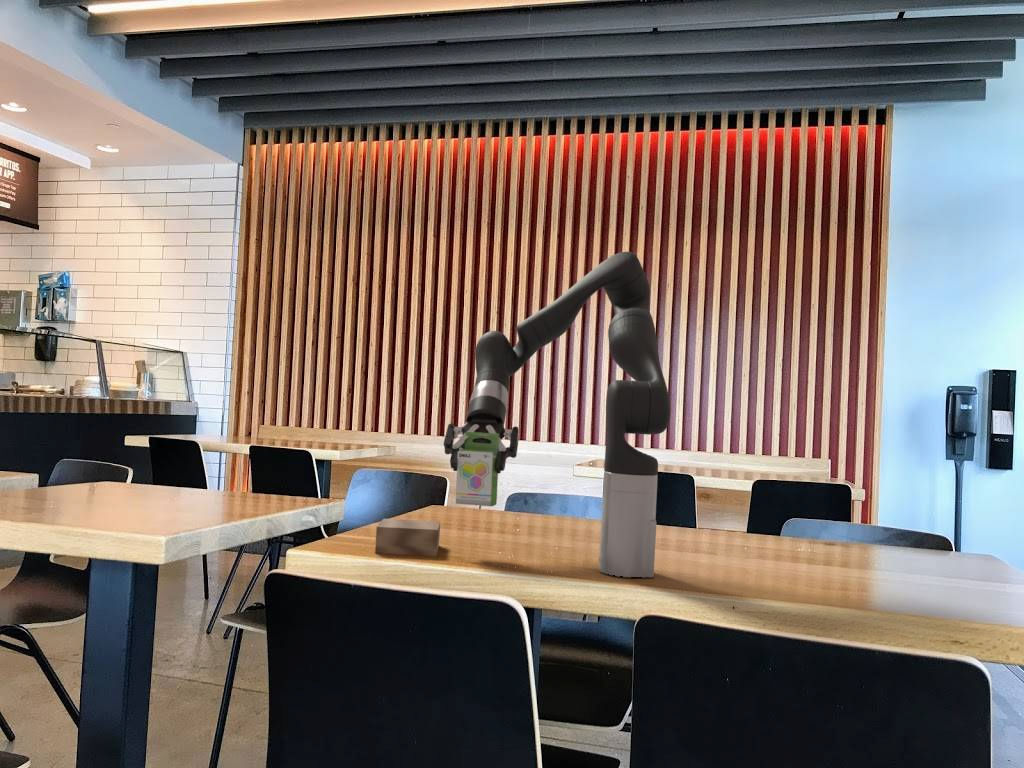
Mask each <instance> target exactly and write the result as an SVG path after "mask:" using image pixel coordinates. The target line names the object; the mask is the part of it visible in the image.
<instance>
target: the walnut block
mask: <svg viewBox="0 0 1024 768" xmlns="http://www.w3.org/2000/svg"><path fill="white" fill-rule="evenodd" d="M375 532H376V533H375V548H374V554H383V553H388V554H387V555H404V554H407V555H406V556H428V557H429V556H430V557H431V556H432V557H437V556H438V551H439V548H440V534H441V533H440V532H441V521H440V520H439V521H437V520H422V519H421V520H418V519H417V520H416V519H415V520H413V519H396V518H383V519H382V520H381V521H380V522H379V523H378V525H376V531H375Z"/></svg>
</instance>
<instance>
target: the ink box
mask: <svg viewBox="0 0 1024 768" xmlns="http://www.w3.org/2000/svg"><path fill="white" fill-rule="evenodd" d="M465 435H466V436H469V438H468V440H467V442H466V444H465V450H463V451H458V455H457V471H456V486H455V489H456V490H455V504H457V505H466V506H467V505H469V506H479V507H480V506H482V507H494V506H496V505H497V501H498V481H499V480H498V479H499V477H498V476H499V473H496V463H497V457H498V446H499V434H494V433H479V432H466V434H465ZM481 437H483V438H486V439H489V440H491V443H490V444H486V443H474V442H473V441H472V440H473V439H475V438H481Z"/></svg>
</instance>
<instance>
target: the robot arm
mask: <svg viewBox="0 0 1024 768" xmlns="http://www.w3.org/2000/svg"><path fill="white" fill-rule="evenodd" d="M602 288H603V289H604V291H605V294H606V296H607V298H608V300H609V302H610V304H611V305H612V308H613V311H614V314H615V315H614V316H613V317H612V319H611V320H610V322H609V325H608V331H607V337H608V348H609V353H610V355H611V358H612V359H613V361H614V362H615V363H616V365H617V366H618V367H619V368H620V369H622V371H623V372H625V373H626V374H627V375H629V376H630V378H632V379H633V380H629V379H628V380H625V379H615V380H613V381H611V382H610V384H609V386H608V388H607V392H606V398H605V400H606V402H605V451H604V452H605V454H604V465H603V467H604V468H603V469H604V470H603V484H602V485H603V487H602V488H603V489H602V504H601V505H602V506H601V521H600V522H601V524H600V525H601V526H600V542H599V543H600V544H599V557H598V571H599V572H601V573H602V574H605V575H608V574H609V576H613V575H615V576H614V577H620V576H623V577H622V578H631V577H642V578H652V577H653V578H654V577H655V575H654V574H655V559H656V558H655V557H656V541H657V540H656V537H657V520H656V517H657V516H656V514H657V498H658V497H657V496H658V495H657V493H658V474H659V462H658V459H657V458H655V457H654V456H652V455H650V454H647V453H644V452H642V451H640V450H638V449H637V448H635V447H633V446H632V445H631V444H629V443H628V441H627V440H626V437H625V434H629V435H630V434H634V435H660V434H662V433H664V432H665V431H666V429H668V426H669V425H670V419H671V401H670V395H669V390H668V386H667V384H666V380H665V376H664V374H663V370H662V367H661V362H660V355H659V346H658V339H657V331H656V327H655V324H654V319H653V316H652V314H651V307H650V305H651V287H650V282H649V280H648V278H647V275H646V273H645V271H644V268H643V265H642V263H641V262H640V260H639V257H638V256H637V255H636V253H634V252H632V251H622V252H621V251H620V252H618V253H616V254H613V255H611V256H610V257H608V258H606V259H605V260H603V261H602V262H600V263H599V264H598V265H597V266H595V267H594V268H593V269H591V270H590V271H589V272H588V273H587V274H585V275H584V276H582V278H581V279H579V280H578V281H577V282H576V283H574V284H573V285H572V286H571V287H570V288H569V289H568V290H566V291H565V292H564V293H563V294H562V295H561V296H558V298H557V299H554V301H552V302H551V303H550V304H548V305H546V306H545V307H543V308H542V309H540V310H538V311H537V312H535V313H533V314H532V315H530V316H529V317H527V318H525V319H524V320H522V321H521V322H519V323H518V324H517V326H516V333H517V336H518V341H517V343H516V344H515V345H514V346H512V343H510V341H509V339H508V338H507V336H506V335H505V334H504V333H502V332H501V331H498V330H489V331H487V332H486V333H484V334H482V336H481V337H480V338H479V340H478V341H477V343H476V346H475V352H474V356H475V357H474V358H475V359H474V360H475V370H476V379H475V383H474V389H473V391H472V394H471V396H470V398H469V403H468V410H467V414H466V419H465V423H464V424H463V425H462V426H455V424H454V423H449V424H447V428H446V431H445V432H446V433H445V436H444V441H443V447H444V448H443V449H444V454H445V455H450V458H449V459H450V460H449V462H450V468H451V469H452V470H453V472H457V455H458V451H463V450H465V444H466V442H467V440H468V438H469V436H466V435H465V434H466V432H479V433H494V434H499V446H498V457H497V463H496V473H498V474H501V473H502V472H503V471H505V470H506V463H507V459H508V458H512V459H514V458H516V457H517V454H518V446H519V441H520V439H519V438H520V437H519V436H520V433H519V427H518V426H513V427H512V428H511V429H508V428H507V429H506V428H505V422H506V416H507V409H508V404H509V403H508V402H509V397H508V396H509V390H510V385H511V384H510V383H511V380H510V379H511V378H510V377H511V376H514V374H516V373H517V372H518V371H519V370H520V369H521V368H522V367H523V366H524V365H525V364H526V363H527V361H529V359H531V357H533V355H534V354H536V353H537V352H538V350H540V349H541V348H543V347H545V346H548V345H549V344H551V342H553V341H555V340H557V339H558V338H560V337H561V336H562V335H563V334H565V333H566V332H567V331H568V330H569V329H570V327H572V324H573V323H574V321H575V320H576V318H577V317H578V315H579V313H580V311H581V310H582V308H583V307H584V305H585V304H586V303H587V302H588V300H589V299H590V298H591V297H592V296H593V295H594V294H595V293H596V292H598V291H599V290H601V289H602ZM459 435H461V436H460V437H459ZM458 437H459V439H458ZM505 437H507V439H508V441H509V442H510V443H509V446H508V447H507V446H505V444H504V443H503V441H502V440H503V439H505ZM457 439H458V440H457ZM455 440H457V441H456V442H454V441H455ZM472 441H473V442H474V443H486V444H490V443H491V440H489V439H486V438H483V437H481V438H475V439H473V440H472Z"/></svg>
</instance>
